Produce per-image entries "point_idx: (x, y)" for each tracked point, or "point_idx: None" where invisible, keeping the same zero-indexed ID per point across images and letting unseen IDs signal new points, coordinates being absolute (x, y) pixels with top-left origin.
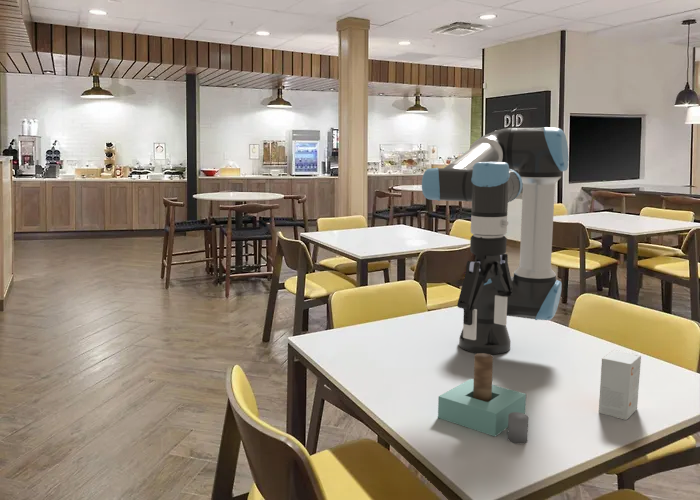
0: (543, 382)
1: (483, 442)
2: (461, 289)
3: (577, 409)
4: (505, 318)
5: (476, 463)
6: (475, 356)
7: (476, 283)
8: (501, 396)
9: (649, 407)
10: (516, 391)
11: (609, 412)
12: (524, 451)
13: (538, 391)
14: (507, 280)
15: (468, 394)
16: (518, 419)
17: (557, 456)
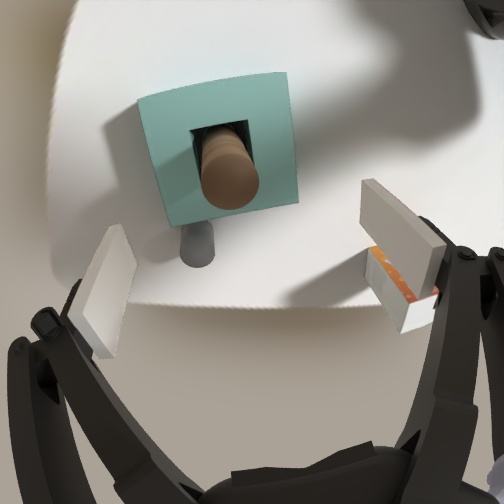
0: (429, 134)
1: (143, 210)
2: (9, 416)
3: None
4: (374, 237)
5: (95, 245)
6: (207, 170)
7: (88, 484)
8: None
9: None
10: (296, 183)
11: (368, 262)
12: (175, 258)
13: (393, 146)
14: (486, 345)
15: (205, 126)
16: (186, 261)
17: (201, 287)
